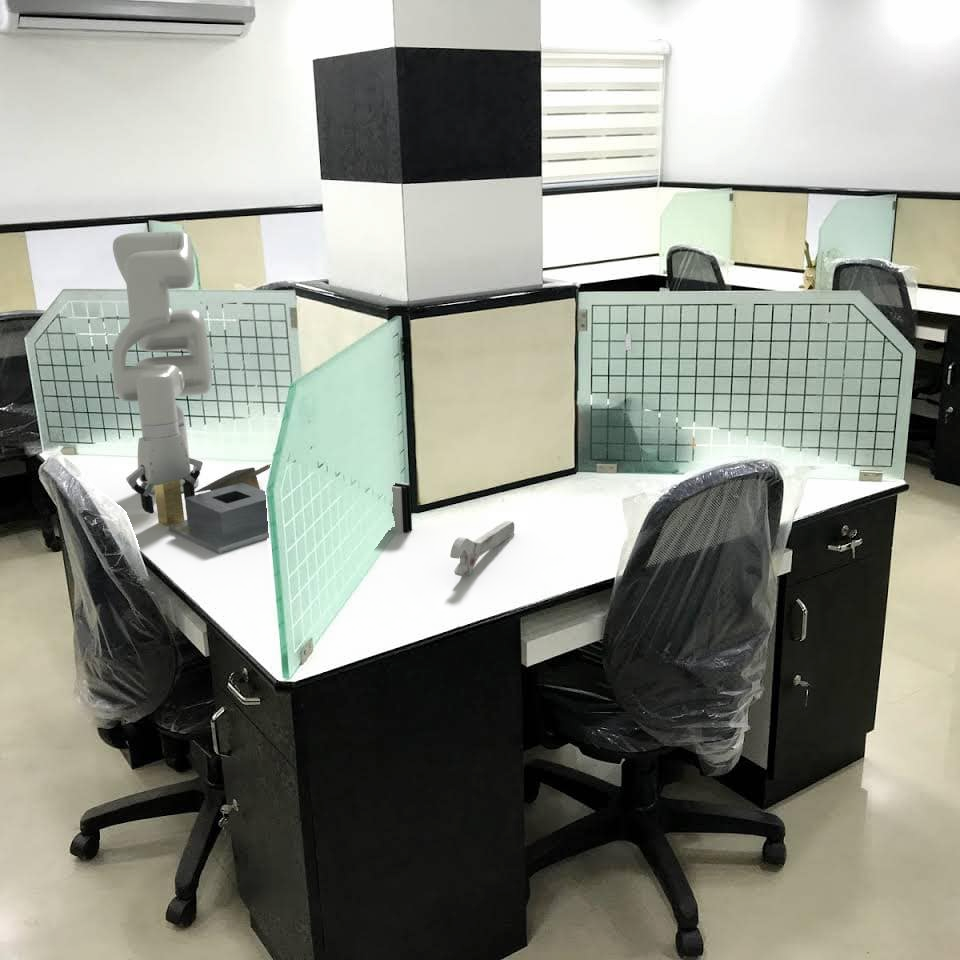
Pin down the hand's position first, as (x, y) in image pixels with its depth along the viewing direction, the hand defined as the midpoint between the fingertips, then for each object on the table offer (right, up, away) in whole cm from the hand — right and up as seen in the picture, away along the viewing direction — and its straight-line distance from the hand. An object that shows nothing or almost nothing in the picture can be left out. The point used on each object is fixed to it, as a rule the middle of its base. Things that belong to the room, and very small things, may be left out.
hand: (169, 506), depth 216 cm
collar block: (+15, -5, -3) cm, 16 cm away
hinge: (+46, -5, -4) cm, 46 cm away
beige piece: (+10, +2, +18) cm, 21 cm away
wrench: (+68, -10, -21) cm, 72 cm away
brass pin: (0, -3, +2) cm, 4 cm away
